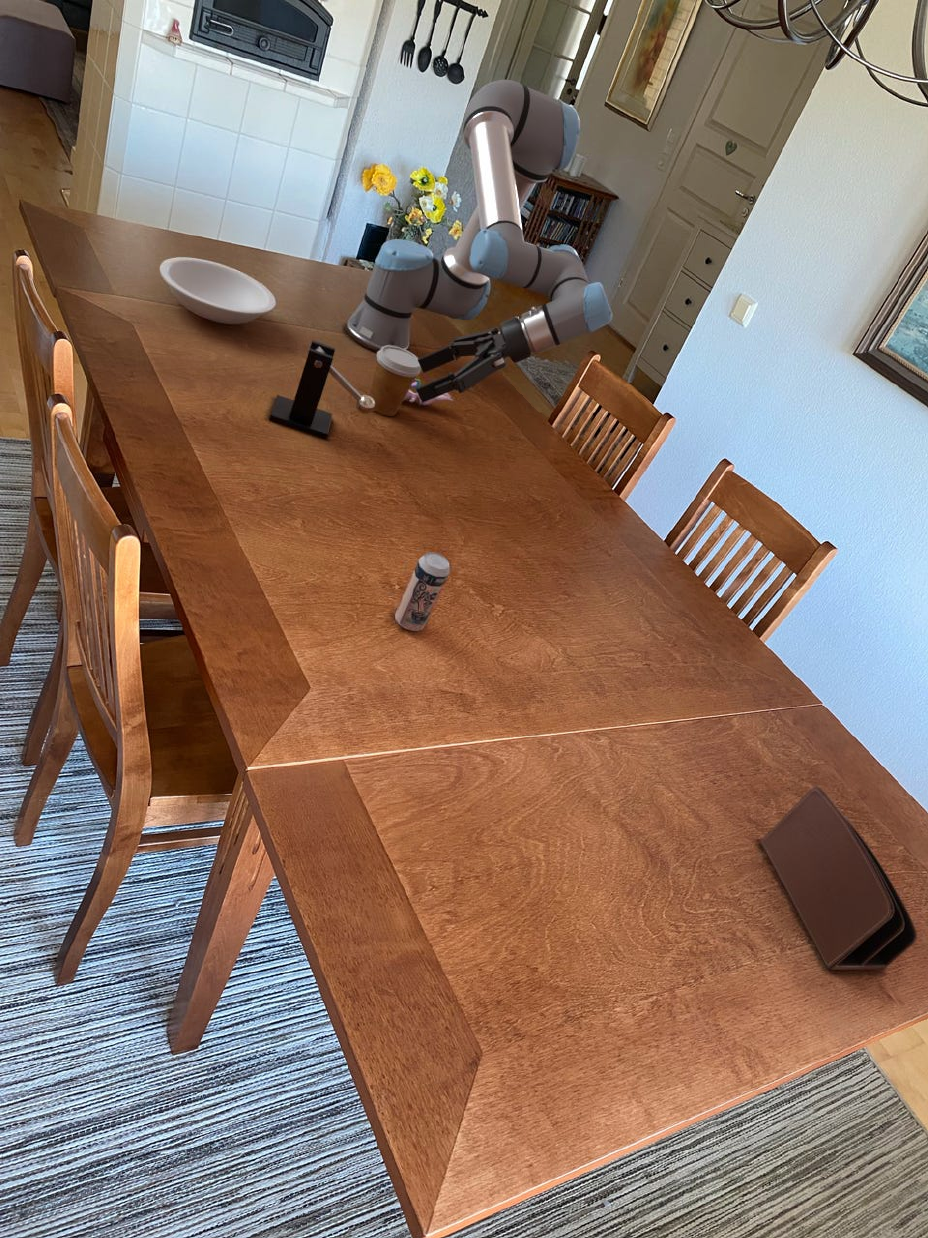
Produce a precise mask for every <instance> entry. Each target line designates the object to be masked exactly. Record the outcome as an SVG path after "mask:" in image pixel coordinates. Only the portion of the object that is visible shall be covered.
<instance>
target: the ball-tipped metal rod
mask: <svg viewBox="0 0 928 1238" xmlns="http://www.w3.org/2000/svg"><path fill="white" fill-rule="evenodd" d="M316 351H319V352H322V353H324V354H327V353H326V352H325V351H324V350H323V349H322V348H321V347H320V346H319V347H318V348H317V349H316ZM327 355H328V354H327ZM328 374H330V375H331V376H332V377H333V378H334V379H335V380H336V381H337V383H339V384H340V385H341V386H342V387H343V388H344V389H345V390H346V391H347V393H349V394H350V395H351V396H352V397H353V398H354V399H355V400H356V402H355V406H356V409H357V411H358V412H359V413H360V414H361V415H370V414H372V413H373V412H375V411H374V409H375V401H374V399H373V398H372V397H371V396H370V394H361V393H360V392H359V391H358V390H357V389H356V388H355V387H354V386H353V385H352V384H351V383H350V382H349V381H348V380H347V379H346V378H345V377H344V376H343V375H342V374H341V373H340V372H339V371H338V370H337V369H336V368H335V367H334V366H333V365H332V364H331V367H330V370H329V373H328Z"/></svg>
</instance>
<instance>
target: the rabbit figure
mask: <svg viewBox="0 0 928 1238" xmlns="http://www.w3.org/2000/svg"><path fill="white" fill-rule="evenodd" d="M414 381H415V382H413V383H412V385H411V387H410V389H409V391H408V392H407V394H406V396H405V398H404V400H403V401H406V400H407V401H409V402H410V403H413V402H416V403H418V405H419V406H427V405H428V406H429V405H432V404H433V403H434V402H441V401H450V402H454V400H453V399H452V396H451V395H450V394H449V392H447V393H445V394H443V395H440V396H438V397H435V398H433V399H431V400H428V401H426V402H423V403H422V401H421V399H420V397H419V395H418V393H417V392H413V391H412V390H413V389H415V390H416V388H418V387H420V386H421V384H422V382H421V379H419V378H415V380H414Z"/></svg>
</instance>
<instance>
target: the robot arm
mask: <svg viewBox="0 0 928 1238" xmlns="http://www.w3.org/2000/svg"><path fill="white" fill-rule="evenodd" d="M462 120H463V121H462V131H463V140H464V143H465V145H466V147H467V149H469V151H470V153H471V162H472V170H473V171H472V172H473V179H474V187H475V196H476V203H477V205H476V207H475V209H474V211H473V213H472V215H471V216H470V219H469V221H468V222H467V225H466V226H465V228H464V230H463V232H462V233H461V235H460V237H459V239H458V241H457V243H456V245H455V246H453V247H449V248H447V249H446V250H445V251H444V253H443V255H442V256H441V258H436V257H434V254H433V251H432V250H431V249H430V248H429V247H427V246H425V245H424V244H419V243H418V242H417V241H412V240H410V239H409V240H408V239H401V238H393V239H392V238H391V239H389V240H386V241H385V242H383V244H382V245H381V247H380V249H379V252H378V254H377V256H376V258H375V261H374V266H373V269H372V272H371V276H370V278H369V281H368V285H367V288H366V291H365V293H364V297H363V299H362V301H361V302H360V303H359V305H358V306H357V308H356V309H355V310H354V312H353V313H352V314H351V316H350V317H349V319H348V320H347V323H346V326H345V331H346V333H347V335H348V336H349V338H351V340H353V341H354V342H356V343H357V344H359V345H361V346H362V347H364V348H366V349H368V350H370V351H373V352H375V353H377V352H378V351H380V349H381V348H382V347H383V346H387V345H390V346H396V347H399V348H402V349H405V350H407V351H408V348H409V346H410V332H411V331H410V329H411V327H410V326H411V317H412V315H413V311H414V310H415V308H418V309H420V310H421V309H422V310H425V311H427V312H431V313H435V314H439V315H442V316H445V317H448V318H450V319H453V320H460V321H471V320H473V319H475V318H477V316H479V314H480V313H481V312H482V311H483V310H484V308H485V306H486V304H487V302H488V297H489V296H490V293H491V280H495V281H498V282H502V283H505V284H508V285H512V286H515V287H519V288H523V289H525V290H529V291H532V292H534V293H538V294H541V295H544V296H547V297H548V299H549V302H548V303H544V304H542V305H539V306H537V307H536V305H535V306H531V308H530V310H529V311H526V312H523V313H522V314H521V318H520V317H519V316H514V317H511V318H509V319H507V320H505V321H502V322H500V324H499V327H498V326H495V327H493V328H490V329H487V330H484V331H479V332H475V333H470V334H465V335H462V336H457V337H454V338H453V339H452V342H451V343H450V344H449V345H447V346H445V347H442V348H440V349H438V350H435V351H433V352H431V353H429V354H426V355H423V356H422V357H420V358H419V357H418V362H419V364H420V366H421V372H423V374H425V373H427V372H430V371H432V370H434V369H437V368H440V367H441V366H444V365H446V364H448V363H451V362H453V361H458V360H459V359H461V358H462V357H473V356H474V357H473V358H472V359H471V360H469V362H467V363H465V364H464V365H463V366H462V367H461V368H460V369H459V370H457V371H456V372H455V373H454V372H448V373H447V375H444V376H442V377H439V378H437V379H435V380H432V381H430V382H428V383H425V384H422V385H420V386H419V387H418V388H416V389H415V391H416V393H418V395H419V397H420V399H421V401H422V403H423V402H426V401H428V400H431V399H433V398H435V397H438V396H440V395H443V394H445V393H449V392H452V391H457V392H458V393H459V394H463V393H464V392H466V391H468V390H469V389H471V388H472V387H473V386H475V385H476V384H478V383H479V382H481V381H483V380H485V379H486V378H488V377H489V376H490V375H492V374H494V373H495V372H497V371H499V370H501V369H503V368H505V367H506V366H507V363H506V361H505V359H506V358H508V357H510V359H511V361H512V362H513V363H517V364H518V363H519V362H522V361H524V360H526V359H529V358H531V357H532V356H533V353H534V354H536V355H540V354H542V353H544V352H547V351H549V350H551V349H553V348H556V347H557V346H560V345H562V344H564V343H567V342H569V341H572V340H574V339H577V338H579V337H581V336H585V335H587V334H590V333H594V332H595V331H596V330H598V329H600V328H602V327H604V326H606V325H609V324H610V322H612V320H613V312H612V309H611V306H610V303H609V300H608V297H607V294H606V291H605V289H604V286H603V284H602V283H601V282H598V281H596V282H592V283H590V282H589V280H588V276H587V274H586V271H585V267H584V263H583V261H582V260H581V258H580V257H579V256H580V255H579V254H578V253H577V250H576V249H575V248H573V247H572V246H570V245H569V244H564V243H563V244H562V243H561V244H558V245H556V244H555V245H552V246H550V247H548V248H544V247H542V246H539V245H536V244H534V243H530V242H527V241H525V239H524V233H523V225H522V218H521V210H522V209H523V207H524V205H525V204H526V202H527V200H528V199H529V197H530V195H531V193H532V192H533V190H534V188H535V186H536V184H537V183H543V182H545V181H547V180H548V178H549V177H550V175H551V174H552V172H553V170H555V171H557V172H558V171H564V170H565V169H567V168H568V167H569V165H570V164H571V163H572V160H573V159H574V156H575V154H576V151H577V148H578V145H579V140H580V132H581V131H580V130H581V122H580V116H579V113H578V112H577V109H576V108H575V107H574V106H571V105H570V104H568V103H566V102H563V100H561V99H560V98H554V97H552V96H550V95H547V94H545V93H543V92H540V91H539V90H536V89H533V88H531V87H528V86H526V85H523V84H522V83H520V82H518V81H515V80H511V79H498V80H495V81H492V82H489V83H487V84H485V85H483V86H482V87H480V89H479V90H477V91H476V92H475V93H474V95H473V96H472V97H471V98H470V100H469V102H468V103H467V106H466V108H465V111H464V115H463V119H462ZM490 279H491V280H490Z"/></svg>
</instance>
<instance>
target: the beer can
mask: <svg viewBox="0 0 928 1238" xmlns="http://www.w3.org/2000/svg"><path fill="white" fill-rule="evenodd" d="M450 569H451V568H450V563H449V560H448V559H447V558H446V557H445V556H443V555H442V554H438V553H436V552H426V554H424V555H423V556H421V557H419V559H418V561H417V563H416V566H415V568H414V570H413V572H412V575H411V577H410V580H409V582H408V584H407V586H406V588H405V591H404V593H403V595H402V597H401V600H400V602H399V604H398V608H397V609H396V611H395V614H394V618H395V621H396V622H397V624H398V625H400V626H401V627H402V628H404V629H405V630H408V631H413V632H414V631H415V632H419V631H422V630H423V629H424V628H425V626H426V624H427V622H428V621H429V618H430V617H431V616H430V615H431V614H432V611H433V610H434V607H435V605H436V603H437V601H438V599H439V597H440V594H441V592H442V591H443V588H444V586H445V584H446V581H447V579H448V577H449V575H450V572H451V570H450Z"/></svg>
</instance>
